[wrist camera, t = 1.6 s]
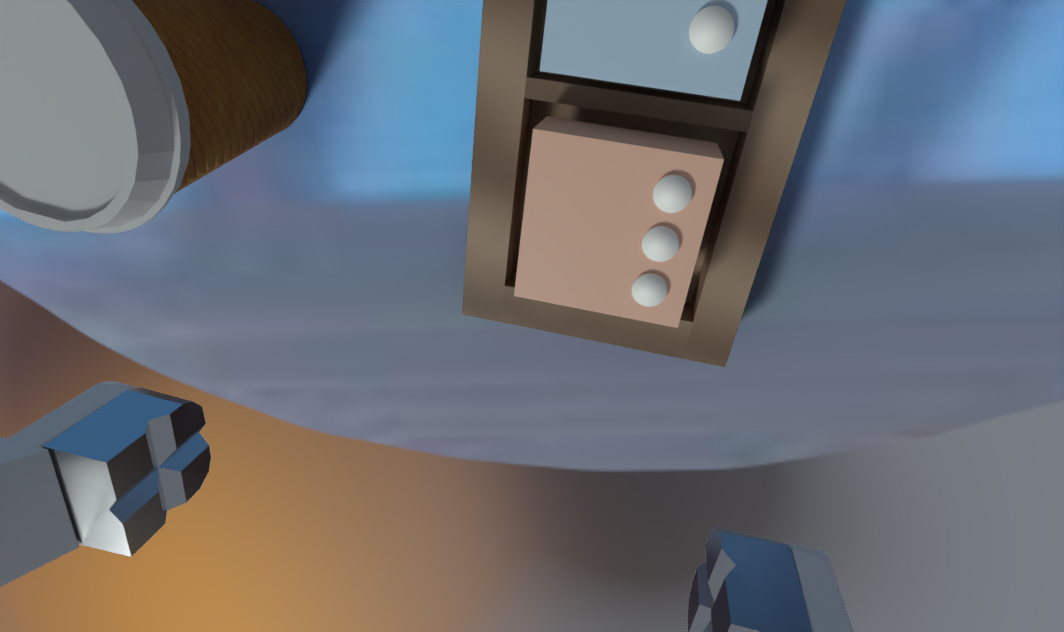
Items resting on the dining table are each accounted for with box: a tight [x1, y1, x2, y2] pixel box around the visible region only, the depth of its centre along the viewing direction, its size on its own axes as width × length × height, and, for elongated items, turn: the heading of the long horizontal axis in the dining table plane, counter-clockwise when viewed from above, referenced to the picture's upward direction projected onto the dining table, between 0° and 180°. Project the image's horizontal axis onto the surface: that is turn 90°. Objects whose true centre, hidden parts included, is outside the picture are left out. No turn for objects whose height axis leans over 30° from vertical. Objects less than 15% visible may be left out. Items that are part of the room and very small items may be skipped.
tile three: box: [514, 116, 724, 328], centre depth 24 cm, size 7×7×3 cm
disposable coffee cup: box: [0, 0, 307, 233], centre depth 24 cm, size 10×10×12 cm
